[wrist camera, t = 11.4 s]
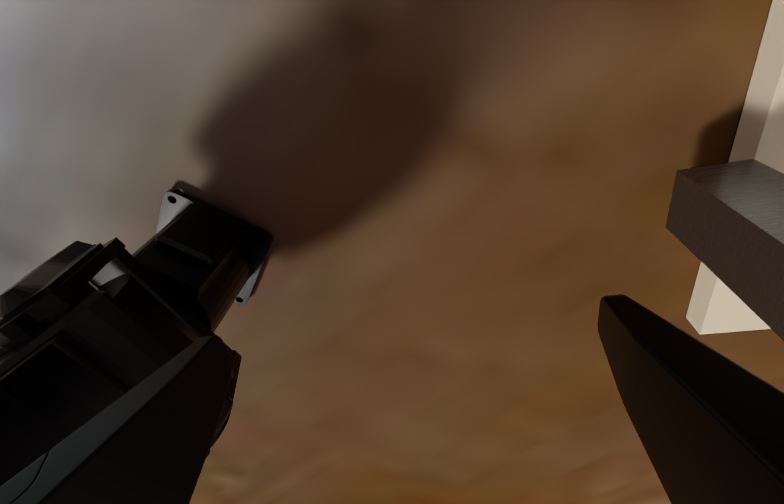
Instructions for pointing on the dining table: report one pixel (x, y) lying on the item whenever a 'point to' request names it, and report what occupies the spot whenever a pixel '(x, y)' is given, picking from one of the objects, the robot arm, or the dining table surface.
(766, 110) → the white mounting stand
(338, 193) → the dining table surface
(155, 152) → the dining table surface
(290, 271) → the dining table surface
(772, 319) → the grey block
